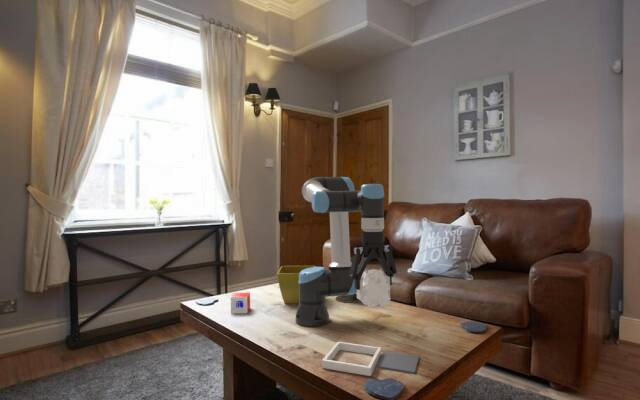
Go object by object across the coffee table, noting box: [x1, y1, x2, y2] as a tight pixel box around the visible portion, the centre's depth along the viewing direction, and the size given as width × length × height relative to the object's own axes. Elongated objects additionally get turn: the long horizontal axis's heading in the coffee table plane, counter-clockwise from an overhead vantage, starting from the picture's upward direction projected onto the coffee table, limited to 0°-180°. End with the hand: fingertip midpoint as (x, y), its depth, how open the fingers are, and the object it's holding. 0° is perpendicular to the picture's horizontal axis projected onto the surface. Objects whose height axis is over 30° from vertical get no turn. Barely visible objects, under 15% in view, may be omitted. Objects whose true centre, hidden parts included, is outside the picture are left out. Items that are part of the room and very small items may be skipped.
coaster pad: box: [375, 350, 420, 375], centre depth 120 cm, size 12×12×1 cm
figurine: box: [360, 268, 392, 309], centre depth 121 cm, size 10×10×12 cm
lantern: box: [334, 254, 361, 304], centre depth 195 cm, size 14×14×25 cm
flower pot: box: [276, 265, 316, 304], centre depth 194 cm, size 19×19×17 cm
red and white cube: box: [230, 292, 251, 314], centre depth 178 cm, size 8×8×8 cm
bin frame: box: [321, 341, 382, 377], centre depth 121 cm, size 16×16×2 cm
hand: (373, 297), depth 121 cm, fingers closed on figurine, 10 cm apart
